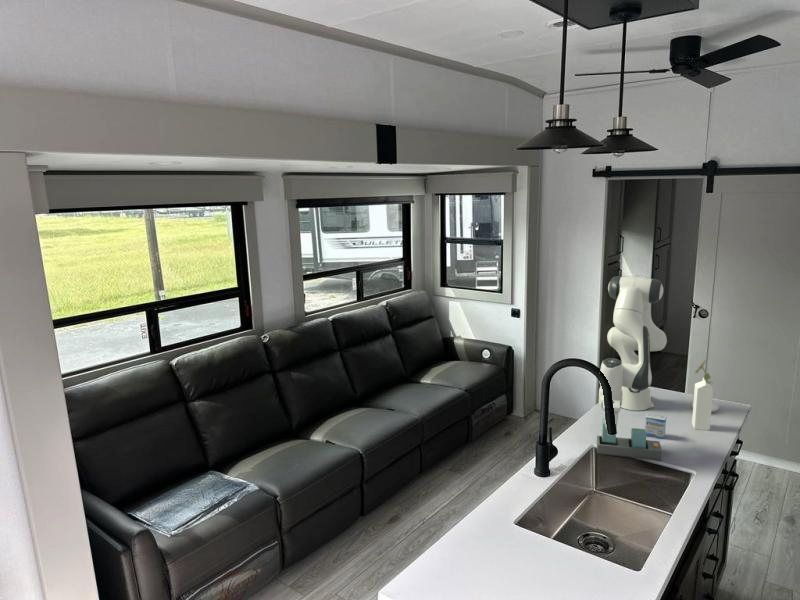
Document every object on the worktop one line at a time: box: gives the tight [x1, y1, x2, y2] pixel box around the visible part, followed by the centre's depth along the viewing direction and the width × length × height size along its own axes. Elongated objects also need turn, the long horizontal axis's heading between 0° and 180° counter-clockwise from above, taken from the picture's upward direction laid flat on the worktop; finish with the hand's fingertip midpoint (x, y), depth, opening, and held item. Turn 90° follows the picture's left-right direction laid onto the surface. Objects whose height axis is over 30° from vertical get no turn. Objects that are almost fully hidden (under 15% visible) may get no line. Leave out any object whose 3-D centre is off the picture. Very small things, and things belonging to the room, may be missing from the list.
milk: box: [691, 377, 714, 431], centre depth 243 cm, size 6×6×22 cm
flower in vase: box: [691, 359, 720, 413], centre depth 260 cm, size 13×11×25 cm
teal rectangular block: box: [601, 417, 617, 443], centre depth 226 cm, size 5×5×8 cm
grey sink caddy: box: [596, 427, 663, 461], centre depth 225 cm, size 9×24×10 cm, turn 73°
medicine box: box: [644, 413, 667, 440], centre depth 238 cm, size 8×4×9 cm, turn 62°
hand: (608, 431), depth 226 cm, fingers closed on teal rectangular block, 5 cm apart
